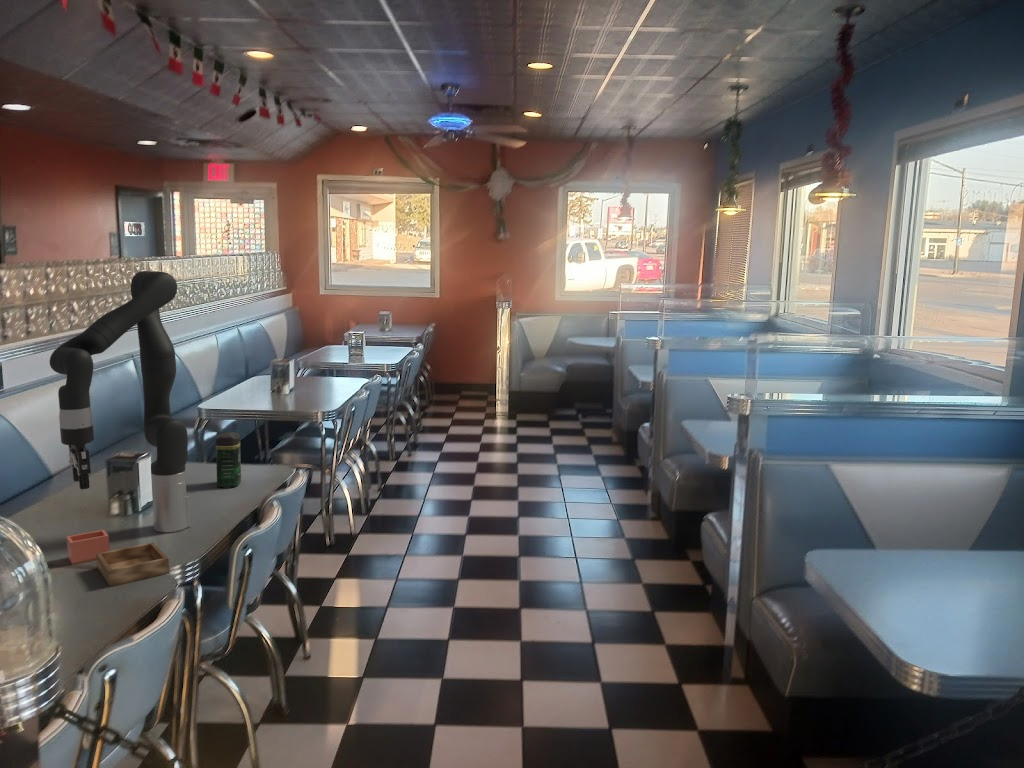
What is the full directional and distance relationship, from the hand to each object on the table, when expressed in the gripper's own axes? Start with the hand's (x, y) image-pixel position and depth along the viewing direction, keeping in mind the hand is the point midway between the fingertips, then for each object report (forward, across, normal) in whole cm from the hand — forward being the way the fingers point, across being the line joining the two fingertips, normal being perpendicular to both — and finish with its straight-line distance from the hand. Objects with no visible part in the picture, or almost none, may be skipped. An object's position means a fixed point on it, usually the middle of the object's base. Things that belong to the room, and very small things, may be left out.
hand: (81, 484), depth 204 cm
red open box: (+20, -1, 0) cm, 20 cm away
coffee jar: (+21, +44, -53) cm, 72 cm away
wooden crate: (+20, -16, -8) cm, 27 cm away
